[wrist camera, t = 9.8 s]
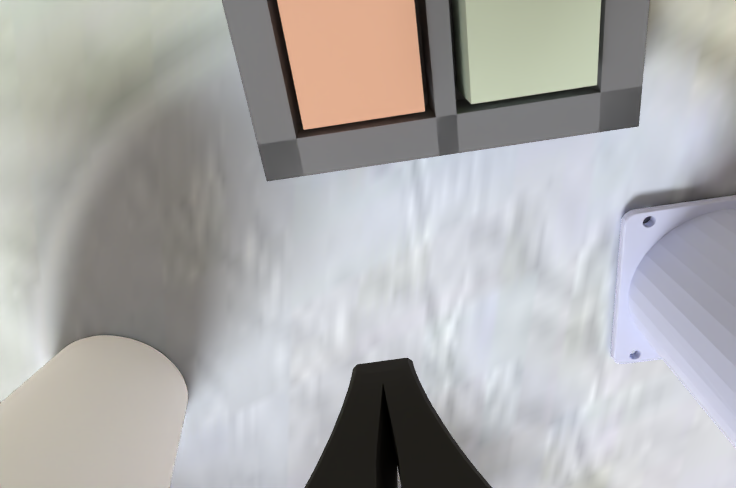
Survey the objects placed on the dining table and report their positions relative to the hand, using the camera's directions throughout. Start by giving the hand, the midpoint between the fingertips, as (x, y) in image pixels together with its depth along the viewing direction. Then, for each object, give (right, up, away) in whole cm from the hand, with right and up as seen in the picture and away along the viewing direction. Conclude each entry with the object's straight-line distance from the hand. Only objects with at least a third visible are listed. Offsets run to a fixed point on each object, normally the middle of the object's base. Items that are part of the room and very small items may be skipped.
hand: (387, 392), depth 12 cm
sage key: (+4, +11, +5) cm, 13 cm away
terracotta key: (-1, +10, +6) cm, 12 cm away
